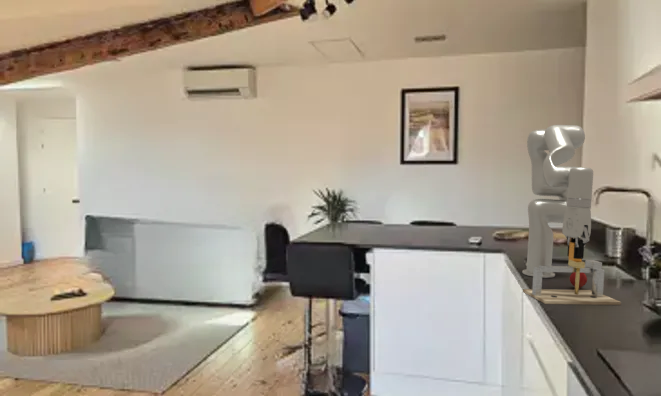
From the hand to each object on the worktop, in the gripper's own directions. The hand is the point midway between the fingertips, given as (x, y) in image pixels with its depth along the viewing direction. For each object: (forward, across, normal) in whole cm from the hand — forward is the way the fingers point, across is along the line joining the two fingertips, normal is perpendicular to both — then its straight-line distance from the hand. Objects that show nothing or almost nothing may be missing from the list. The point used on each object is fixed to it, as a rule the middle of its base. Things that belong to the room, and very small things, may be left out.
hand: (575, 257), depth 179 cm
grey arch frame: (+13, +1, -2) cm, 13 cm away
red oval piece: (+14, -14, +10) cm, 22 cm away
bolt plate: (+14, 0, -1) cm, 14 cm away
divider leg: (+12, +1, 0) cm, 12 cm away
